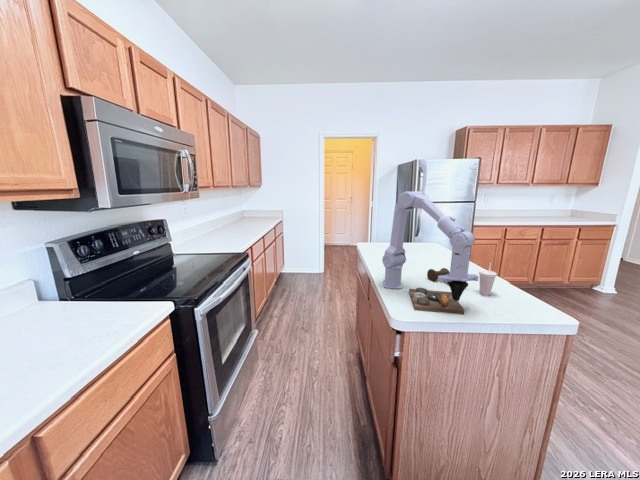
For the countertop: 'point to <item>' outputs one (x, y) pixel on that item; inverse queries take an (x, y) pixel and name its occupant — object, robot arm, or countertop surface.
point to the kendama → (436, 273)
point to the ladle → (439, 298)
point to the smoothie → (486, 281)
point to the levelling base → (433, 302)
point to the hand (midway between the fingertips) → (455, 299)
